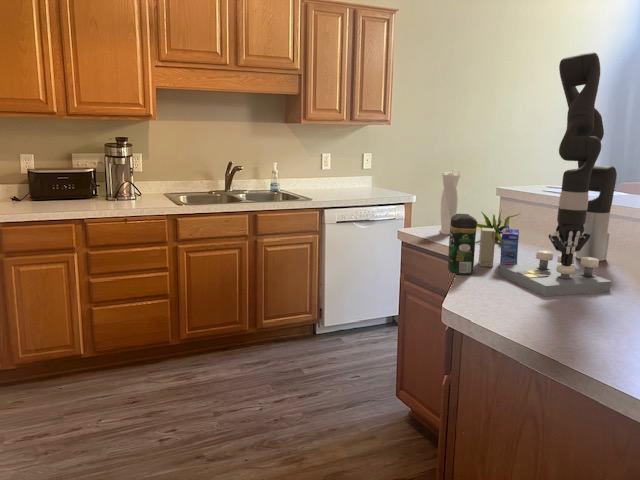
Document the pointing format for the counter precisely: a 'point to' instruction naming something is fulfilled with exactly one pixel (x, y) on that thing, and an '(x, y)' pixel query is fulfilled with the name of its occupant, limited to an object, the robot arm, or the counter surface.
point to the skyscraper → (448, 200)
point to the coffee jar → (462, 244)
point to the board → (554, 280)
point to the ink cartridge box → (509, 246)
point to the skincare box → (487, 247)
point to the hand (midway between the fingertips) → (565, 265)
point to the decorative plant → (495, 225)
